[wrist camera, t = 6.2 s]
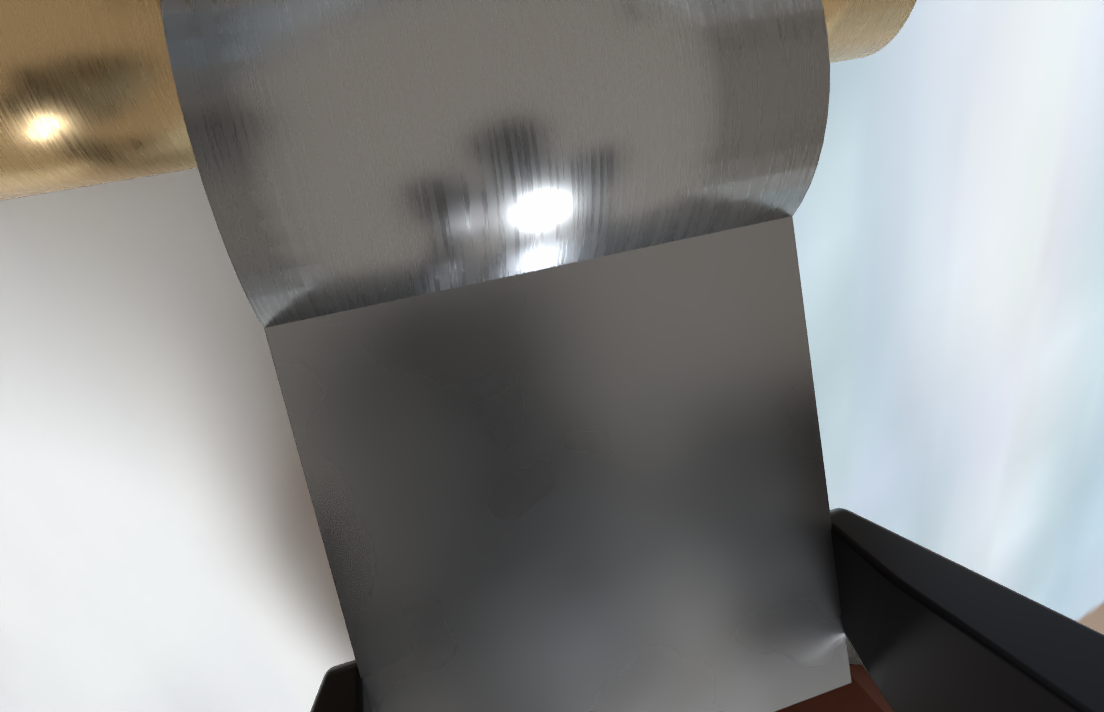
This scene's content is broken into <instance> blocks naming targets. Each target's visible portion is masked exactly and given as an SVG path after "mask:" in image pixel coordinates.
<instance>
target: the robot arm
mask: <svg viewBox="0 0 1104 712" xmlns="http://www.w3.org/2000/svg"><path fill="white" fill-rule="evenodd" d="M830 517H831V525H832V528H831V536H832V544H833V552H834V560H835V568H836V576H837V583H838V591H839V599H840V607H841V615H842V623H843V630H844V633H845V635H846V637H847V638H848V640H849V642H850V644H851V645H852V647H853V649H854V651H855V653H856V654H857V656H858V658H859V659H860V661H861V663H862V664H863V666H864V668H865V669H866V671H867V673H868V674H869V676H870V677H871V679H872V680H873V682H874V683H875V685H876V686H877V688H878V689H879V691H880V692H881V693H882V695H883V696H884V698H885V699H886V701H887V702H888V703H889V705H890V706H891V708H892V709H893V711H894V712H1104V635H1103V634H1101V633H1099V632H1097V631H1095V630H1093V629H1091V628H1089V627H1087V626H1085V625H1083V624H1081V623H1079V622H1077V621H1074V620H1072V619H1070V618H1068V617H1066V616H1064V615H1062V614H1060V613H1058V612H1056V611H1054V610H1052V609H1050V608H1048V607H1046V606H1044V605H1042V604H1040V603H1038V602H1035V601H1033V600H1031V599H1029V598H1027V597H1025V596H1023V595H1021V594H1019V593H1017V592H1015V591H1013V590H1011V589H1009V588H1007V587H1005V586H1003V585H1001V584H999V583H996V582H994V581H992V580H990V579H988V578H986V577H984V576H982V575H980V574H978V573H976V572H974V571H972V570H970V569H968V568H966V567H964V566H962V565H960V564H958V563H955V562H953V561H951V560H949V559H947V558H945V557H943V556H941V555H939V554H937V553H935V552H933V551H931V550H929V549H927V548H925V547H923V546H921V545H919V544H916V543H914V542H912V541H910V540H908V539H906V538H904V537H902V536H900V535H898V534H896V533H894V532H892V531H890V530H888V529H886V528H884V527H882V526H880V525H877V524H875V523H873V522H871V521H869V520H867V519H865V518H863V517H861V516H859V515H857V514H855V513H853V512H851V511H849V510H846V509H842V508H836V509H832V510H830ZM310 712H372V711H371V707H370V704H369V700H368V696H367V693H366V689H365V686H364V682H363V680H362V679H361V677H360V673H359V670H358V666H357V662H356V660H353V661H350V662H347V663H344V664H340V665H337V666H334V667H332V668H330V669H329V670H328V671H327V672H326V674H325V676H324V678H323V680H322V683H321V685H320V688H319V691H318V693H317V696H316V698H315V701H314V704H313V706H312V709H311V711H310Z"/></svg>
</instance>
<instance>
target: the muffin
mask: <svg viewBox="0 0 1104 712" xmlns="http://www.w3.org/2000/svg"><path fill="white" fill-rule="evenodd" d="M849 667H850V675H851V683H849V684H846V685H844V686H841V687H838V688H836V689H833V690H830V691H828V692H825V693H823V694H820V695H817V696H815V697H812V698H809V699H807V700H804V701H801V702H799V703H796V704H793V705H791V706H788V707H785V708H783V709H780V710H777V711H775V712H894V711H893V709H892V708H891V706H890V705H889V703H888V702H887V701H886V699H885V698H884V696H883V695H882V693H881V692H880V691H879V689H878V688H877V686H876V685H875V683H874V682H873V680H872V679H871V677H870V676H869V674H868V673H867V671H866V669H865V668H864V666H863V665H852V664H849Z"/></svg>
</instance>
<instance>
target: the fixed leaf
mask: <svg viewBox="0 0 1104 712" xmlns="http://www.w3.org/2000/svg"><path fill="white" fill-rule="evenodd" d="M915 3H916V0H822V4H823V8H824V15H825V21H826V28H827V34H828V46H829V60H830V63H833V62H839V61H845V60H851V59H857V58H863V57H866V56H869V55H872V54H874V53H875V52H877V51H879V50H880V49H882V48H883V47H884V46H886V45H887V44H888V43H889V42H890V41H891V40H892V39H893V38H894V37H895V36H896V34H897V33H898V32H899V31H900V29H901V28H902V27H903V25H904V23H905V22H906V20H907V19H908V17H909V15H910V13H911V11H912V9H913V7H914V5H915ZM193 168H198V166H197V163H196V160H195V156H194V153H193V149H192V146H191V143H190V139H189V136H188V132H187V129H186V125H185V121H184V117H183V114H182V110H181V106H180V102H179V98H178V94H177V90H176V86H175V82H174V77H173V73H172V69H171V64H170V59H169V54H168V49H167V44H166V39H165V33H164V27H163V21H162V15H161V6H160V0H0V200H6V199H12V198H19V197H25V196H31V195H37V194H43V193H49V192H55V191H61V190H67V189H73V188H79V187H85V186H91V185H97V184H103V183H109V182H115V181H121V180H127V179H133V178H139V177H145V176H151V175H157V174H163V173H169V172H175V171H181V170H187V169H193Z"/></svg>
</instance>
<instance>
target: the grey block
mask: <svg viewBox="0 0 1104 712" xmlns="http://www.w3.org/2000/svg"><path fill="white" fill-rule="evenodd" d="M160 6H161V15H162V21H163V27H164V33H165V39H166V44H167V49H168V54H169V59H170V64H171V69H172V73H173V77H174V82H175V86H176V90H177V94H178V98H179V102H180V106H181V110H182V114H183V117H184V121H185V125H186V129H187V132H188V136H189V139H190V143H191V146H192V149H193V153H194V156H195V160H196V163H197V166H198V169H199V172H200V176H201V179H202V182H203V185H204V188H205V191H206V194H207V197H208V200H209V203H210V206H211V209H212V212H213V214H214V217H215V220H216V223H217V226H218V229H219V231H220V234H221V236H222V239H223V242H224V244H225V247H226V249H227V252H228V255H229V257H230V259H231V262H232V264H233V267H234V269H235V271H236V274H237V276H238V279H239V281H240V283H241V285H242V287H243V289H244V292H245V294H246V296H247V298H248V300H249V302H250V304H251V306H252V308H253V310H254V311H255V313H256V315H257V317H258V319H259V320H260V322H261V323H262V325H263V327H264V329H265V332H266V336H267V340H268V343H269V347H270V350H271V354H272V358H273V361H274V365H275V369H276V372H277V376H278V380H279V383H280V387H281V390H282V394H283V398H284V401H285V405H286V409H287V412H288V416H289V419H290V423H291V427H292V430H293V434H294V438H295V441H296V445H297V448H298V452H299V456H300V459H301V463H302V467H303V470H304V474H305V477H306V481H307V485H308V488H309V492H310V496H311V499H312V503H313V506H314V510H315V514H316V517H317V521H318V525H319V528H320V532H321V535H322V539H323V543H324V546H325V550H326V554H327V557H328V561H329V565H330V568H331V572H332V575H333V579H334V583H335V586H336V590H337V594H338V597H339V601H340V604H341V608H342V612H343V615H344V619H345V623H346V626H347V630H348V633H349V637H350V641H351V644H352V648H353V652H354V655H355V659H356V662H357V666H358V670H359V673H360V677H361V679H362V680H363V682H364V686H365V689H366V693H367V696H368V700H369V704H370V707H371V711H372V712H775V711H777V710H780V709H783V708H785V707H788V706H791V705H793V704H796V703H799V702H801V701H804V700H807V699H809V698H812V697H815V696H817V695H820V694H823V693H825V692H828V691H830V690H833V689H836V688H838V687H841V686H844V685H846V684H849V683H851V675H850V667H849V659H848V651H847V643H846V635H845V633H844V630H843V623H842V615H841V607H840V599H839V591H838V583H837V576H836V568H835V560H834V552H833V544H832V536H831V528H832V525H831V517H830V510H829V502H828V494H827V486H826V478H825V470H824V462H823V455H822V447H821V439H820V431H819V423H818V415H817V407H816V399H815V392H814V384H813V376H812V368H811V360H810V352H809V344H808V337H807V329H806V321H805V313H804V305H803V297H802V289H801V281H800V274H799V266H798V258H797V250H796V242H795V234H794V226H793V219H792V216H793V214H794V213H795V211H796V210H797V208H798V207H799V205H800V204H801V202H802V200H803V198H804V196H805V194H806V192H807V190H808V188H809V186H810V184H811V181H812V178H813V176H814V173H815V170H816V167H817V164H818V161H819V157H820V153H821V149H822V145H823V141H824V135H825V129H826V123H827V116H828V104H829V92H830V60H829V46H828V34H827V28H826V21H825V15H824V8H823V4H822V0H160Z"/></svg>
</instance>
